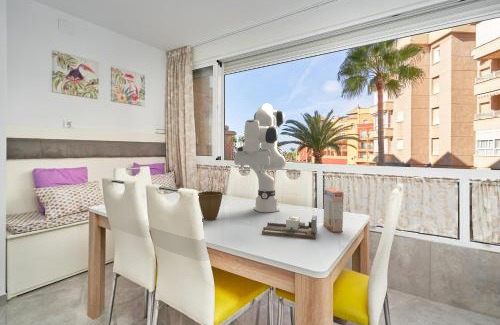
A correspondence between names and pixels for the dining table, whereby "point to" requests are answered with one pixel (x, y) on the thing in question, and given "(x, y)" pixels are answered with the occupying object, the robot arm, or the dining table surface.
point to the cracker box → (333, 210)
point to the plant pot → (210, 204)
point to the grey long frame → (311, 225)
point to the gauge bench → (289, 234)
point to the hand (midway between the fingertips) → (252, 173)
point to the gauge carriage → (293, 223)
